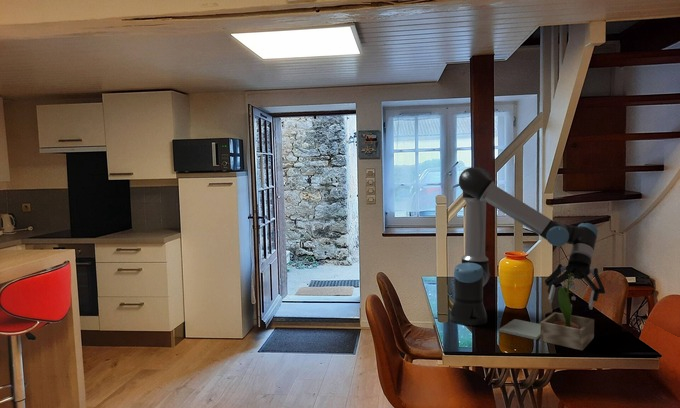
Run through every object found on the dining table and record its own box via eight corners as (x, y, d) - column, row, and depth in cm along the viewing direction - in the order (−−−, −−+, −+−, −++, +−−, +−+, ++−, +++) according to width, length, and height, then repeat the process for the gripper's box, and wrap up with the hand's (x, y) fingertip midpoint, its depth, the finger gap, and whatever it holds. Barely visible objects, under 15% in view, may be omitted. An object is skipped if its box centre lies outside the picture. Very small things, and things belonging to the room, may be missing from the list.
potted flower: (556, 332, 170) (557, 268, 169) (585, 337, 164) (587, 271, 163) (548, 341, 161) (549, 273, 160) (579, 347, 155) (580, 277, 153)
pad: (499, 331, 172) (499, 328, 172) (514, 321, 184) (514, 318, 184) (536, 339, 162) (536, 337, 162) (549, 328, 174) (550, 326, 174)
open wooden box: (540, 340, 161) (540, 322, 161) (554, 329, 173) (554, 312, 173) (582, 350, 152) (582, 330, 152) (593, 337, 164) (594, 319, 163)
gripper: (619, 267, 165) (610, 316, 155) (548, 260, 182) (536, 303, 172) (616, 255, 161) (607, 304, 151) (544, 249, 178) (532, 293, 167)
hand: (569, 304), depth 161 cm, fingers open, 13 cm apart
